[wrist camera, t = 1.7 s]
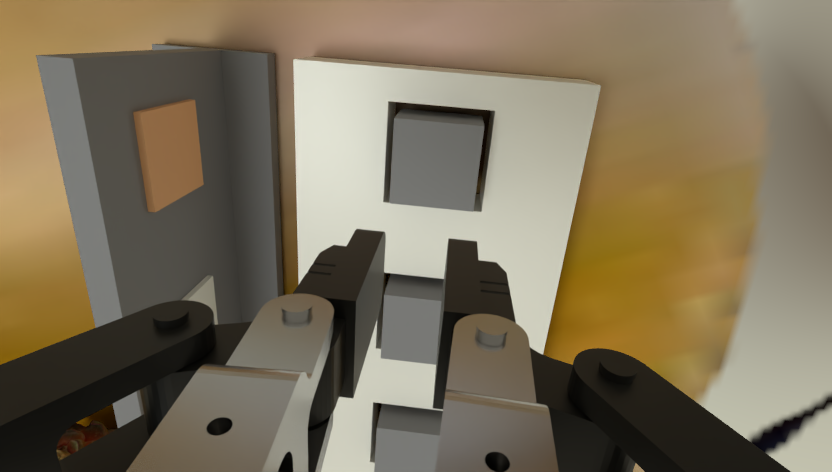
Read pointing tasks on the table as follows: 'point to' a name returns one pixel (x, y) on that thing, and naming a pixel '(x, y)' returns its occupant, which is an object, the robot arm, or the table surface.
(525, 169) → the button board
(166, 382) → the robot arm
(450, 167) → the button near
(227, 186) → the pattern sign
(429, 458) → the button far
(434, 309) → the button middle
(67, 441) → the dragon fruit
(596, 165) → the table surface
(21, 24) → the table surface
